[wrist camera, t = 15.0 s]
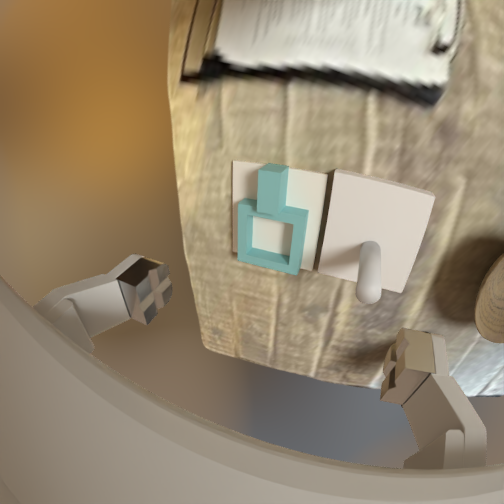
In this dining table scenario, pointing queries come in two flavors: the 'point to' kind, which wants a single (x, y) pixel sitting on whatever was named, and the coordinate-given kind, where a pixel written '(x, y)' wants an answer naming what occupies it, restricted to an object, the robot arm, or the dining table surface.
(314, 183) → the mat
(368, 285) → the post stand
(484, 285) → the bowl
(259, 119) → the dining table surface
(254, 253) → the teal square ring handle
